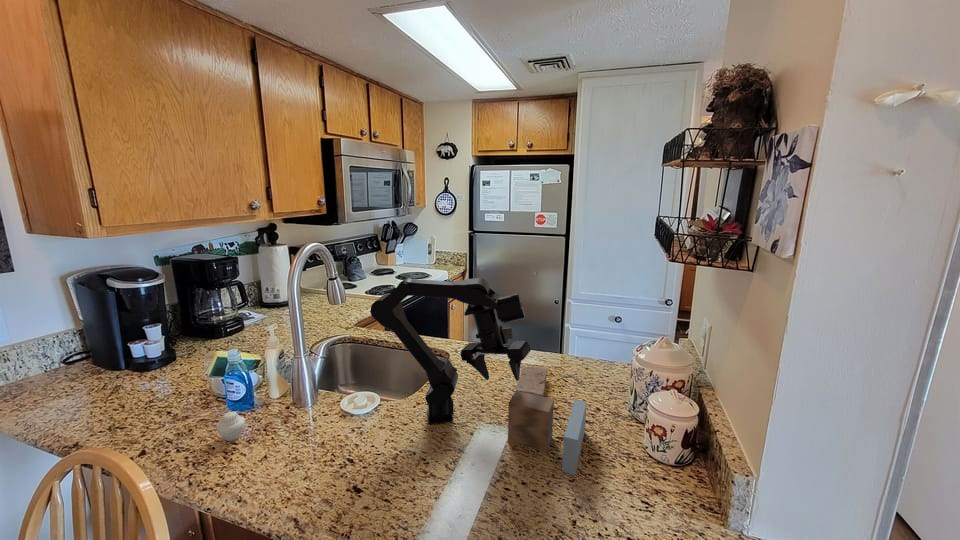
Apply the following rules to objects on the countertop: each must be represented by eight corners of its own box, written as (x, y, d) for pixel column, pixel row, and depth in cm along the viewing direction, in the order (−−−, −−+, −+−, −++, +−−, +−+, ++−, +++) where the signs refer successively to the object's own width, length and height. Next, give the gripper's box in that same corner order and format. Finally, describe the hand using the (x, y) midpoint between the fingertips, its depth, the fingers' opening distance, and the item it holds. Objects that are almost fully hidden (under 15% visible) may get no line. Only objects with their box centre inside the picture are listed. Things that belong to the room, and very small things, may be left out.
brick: (542, 408, 110) (543, 393, 109) (514, 404, 112) (514, 389, 111) (546, 380, 126) (547, 367, 125) (521, 377, 128) (522, 364, 127)
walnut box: (507, 441, 95) (508, 402, 93) (514, 428, 101) (515, 390, 98) (547, 452, 92) (548, 412, 89) (552, 437, 97) (553, 398, 95)
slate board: (561, 471, 85) (563, 436, 83) (572, 429, 100) (574, 399, 98) (575, 475, 84) (577, 440, 82) (584, 432, 99) (586, 401, 97)
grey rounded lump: (251, 435, 98) (247, 411, 96) (225, 448, 93) (221, 423, 91) (240, 426, 101) (236, 403, 100) (214, 439, 96) (209, 414, 95)
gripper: (531, 311, 100) (544, 364, 103) (472, 316, 110) (486, 364, 113) (514, 329, 91) (529, 387, 94) (452, 332, 100) (468, 384, 103)
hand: (502, 379), depth 101 cm, fingers open, 9 cm apart
